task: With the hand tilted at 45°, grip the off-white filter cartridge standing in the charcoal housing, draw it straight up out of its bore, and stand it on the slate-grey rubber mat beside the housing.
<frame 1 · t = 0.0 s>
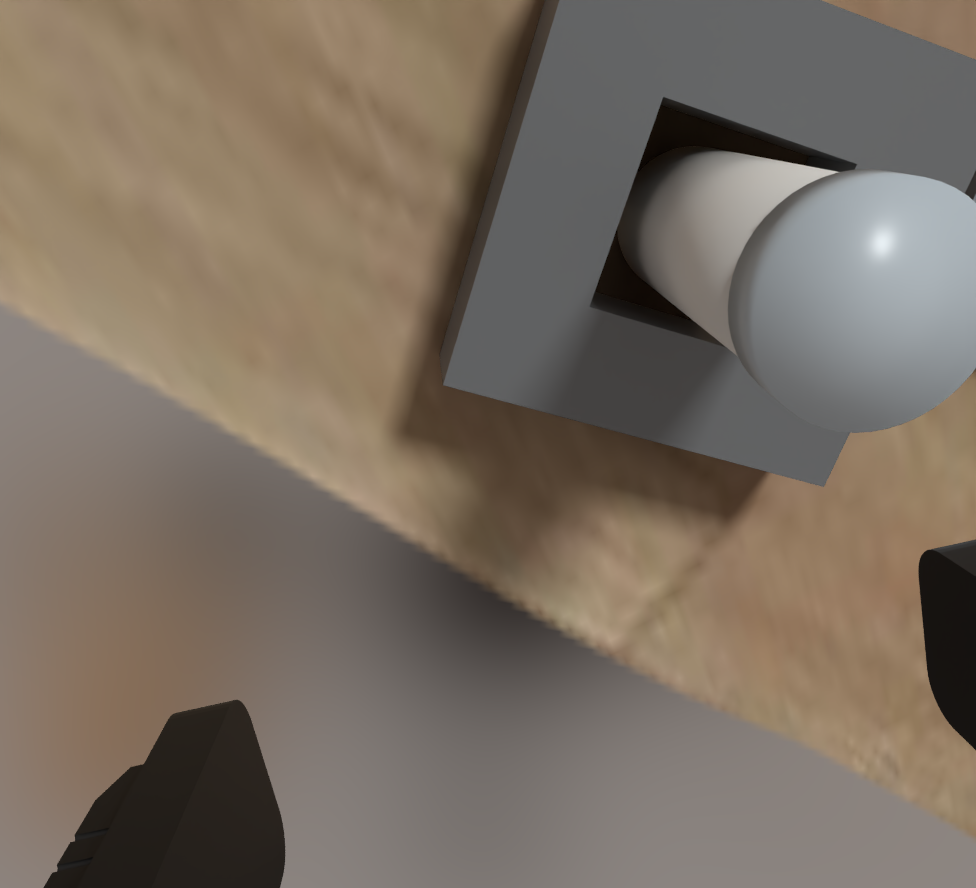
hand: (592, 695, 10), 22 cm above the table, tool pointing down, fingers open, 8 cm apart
cartridge: (759, 254, 24), in the housing
housing: (687, 221, 31), on the table
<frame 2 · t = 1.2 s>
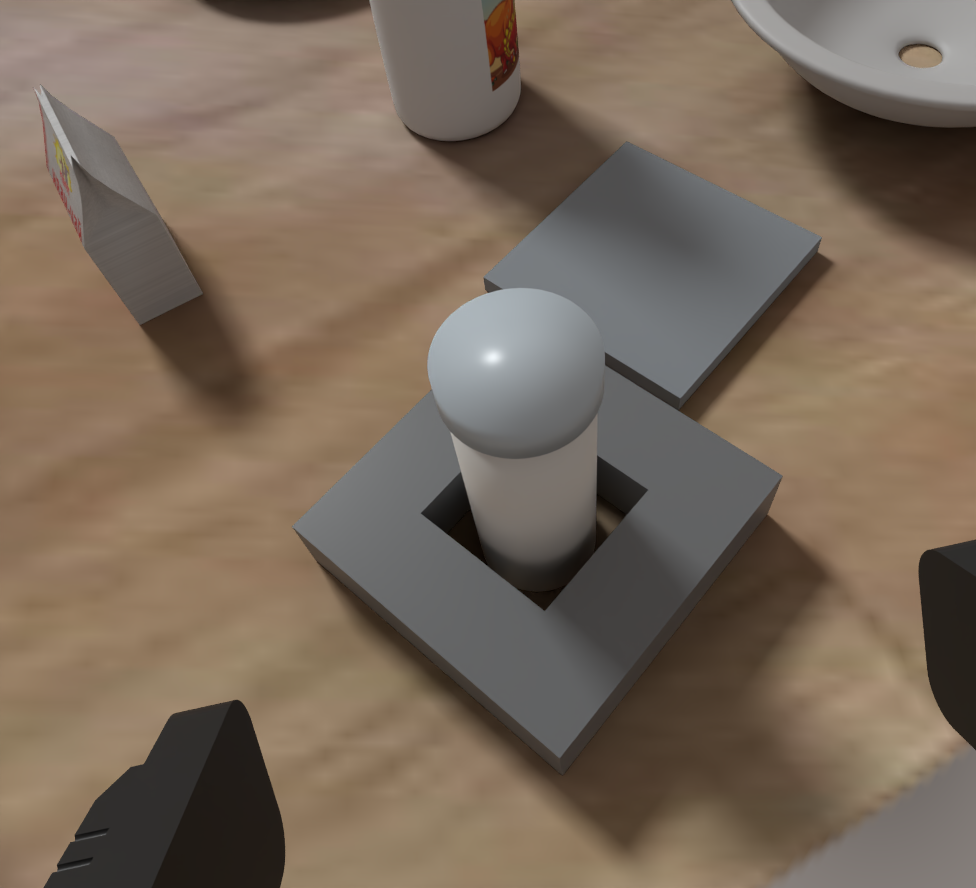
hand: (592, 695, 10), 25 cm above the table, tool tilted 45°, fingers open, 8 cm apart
mat: (649, 270, 45), on the table
milk bottle: (458, 103, 53), on the table
soup bowl: (918, 62, 51), on the table
cartridge: (528, 463, 33), in the housing
white paper packet: (153, 272, 49), on the table
housing: (538, 536, 38), on the table
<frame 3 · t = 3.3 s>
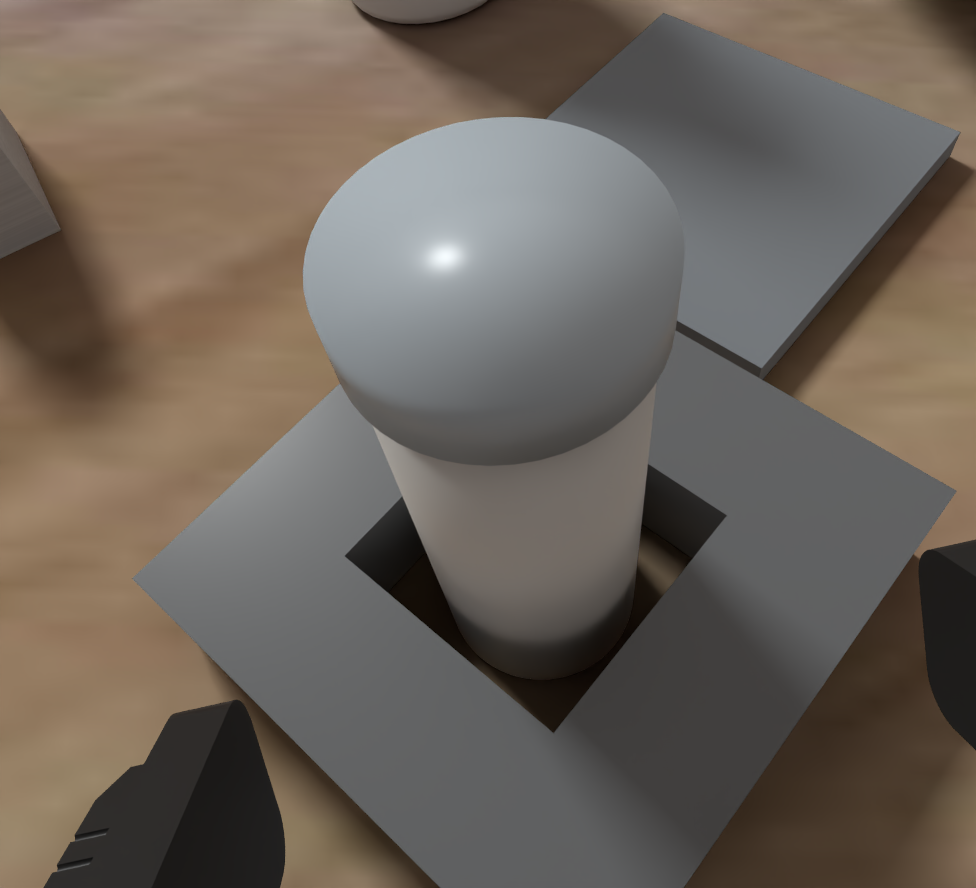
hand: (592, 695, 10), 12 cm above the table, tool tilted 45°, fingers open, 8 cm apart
mat: (702, 187, 31), on the table
cartridge: (523, 472, 18), in the housing
housing: (541, 588, 24), on the table
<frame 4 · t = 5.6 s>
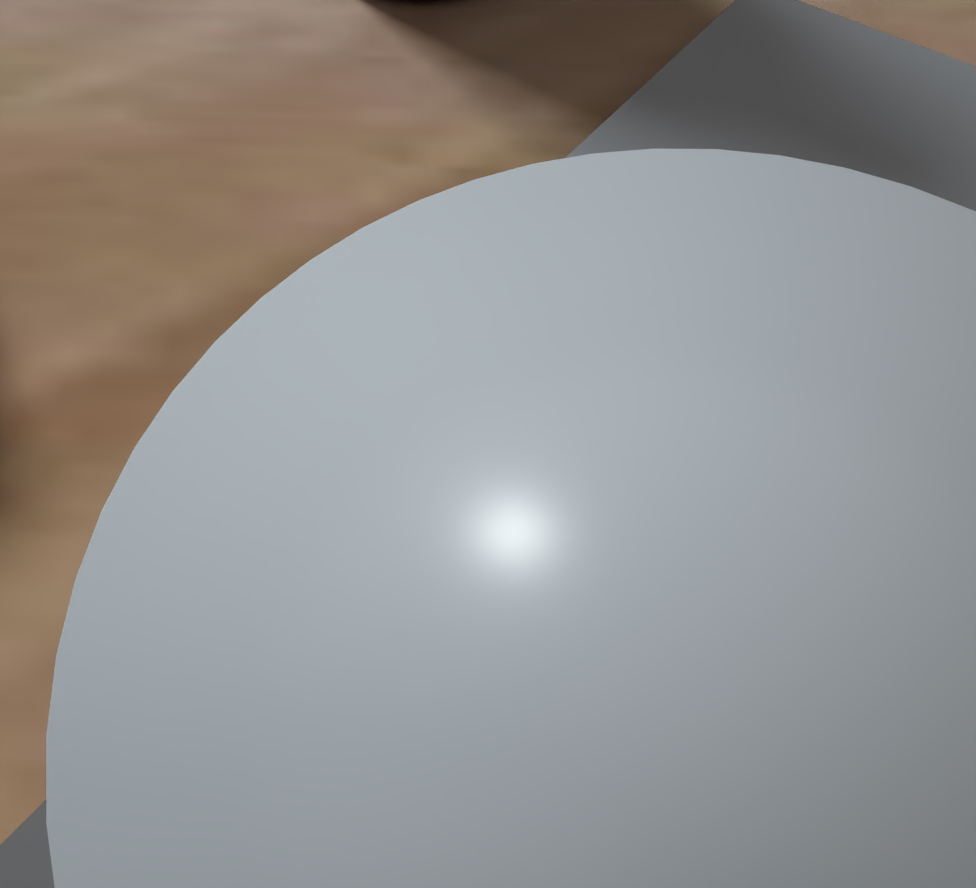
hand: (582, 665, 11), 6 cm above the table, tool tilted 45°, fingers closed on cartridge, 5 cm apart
mat: (820, 222, 22), on the table
cartridge: (624, 814, 10), in the housing, touching gripper
housing: (615, 867, 15), on the table
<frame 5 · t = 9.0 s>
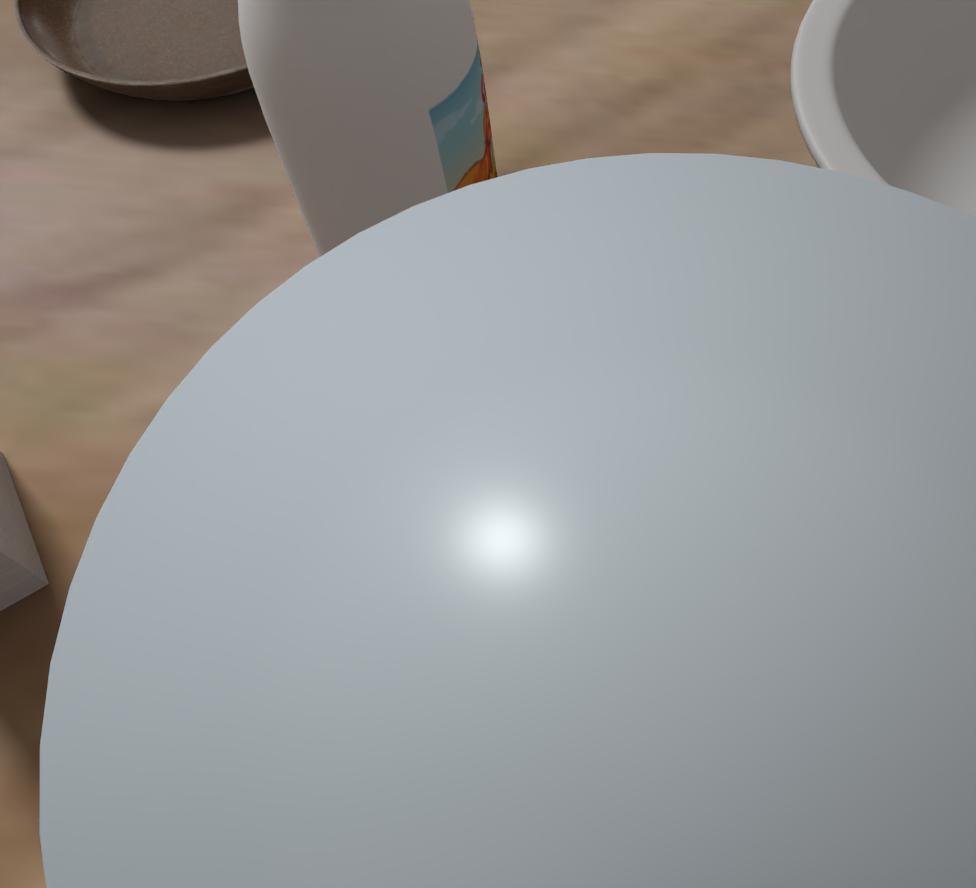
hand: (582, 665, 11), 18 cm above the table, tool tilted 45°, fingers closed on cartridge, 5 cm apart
milk bottle: (421, 273, 39), on the table
cartridge: (624, 817, 10), point 19 cm above the table, touching gripper
plant saucer: (223, 10, 50), on the table
when the fingers open (8 cm above the table, at t = 12.7 s): cartridge stays where it is, resting on mat.
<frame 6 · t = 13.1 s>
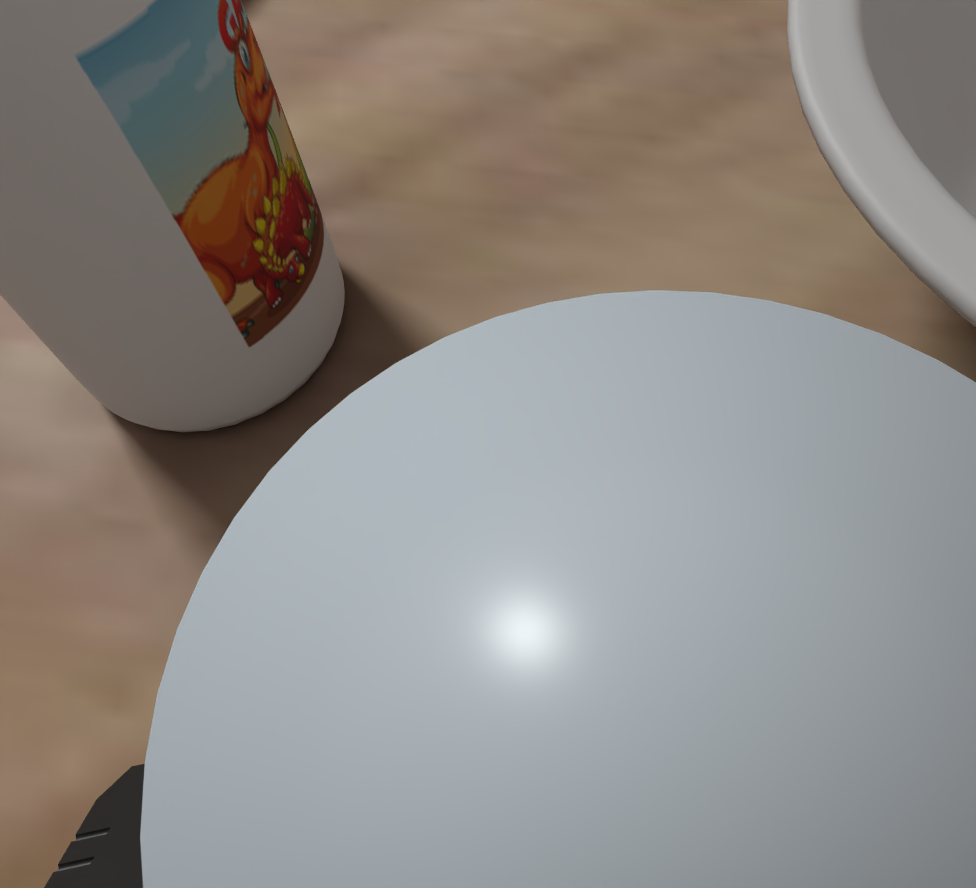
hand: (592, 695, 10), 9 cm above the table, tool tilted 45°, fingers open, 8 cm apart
milk bottle: (220, 329, 25), on the table
cartridge: (624, 844, 10), on the mat, point 8 cm above the table
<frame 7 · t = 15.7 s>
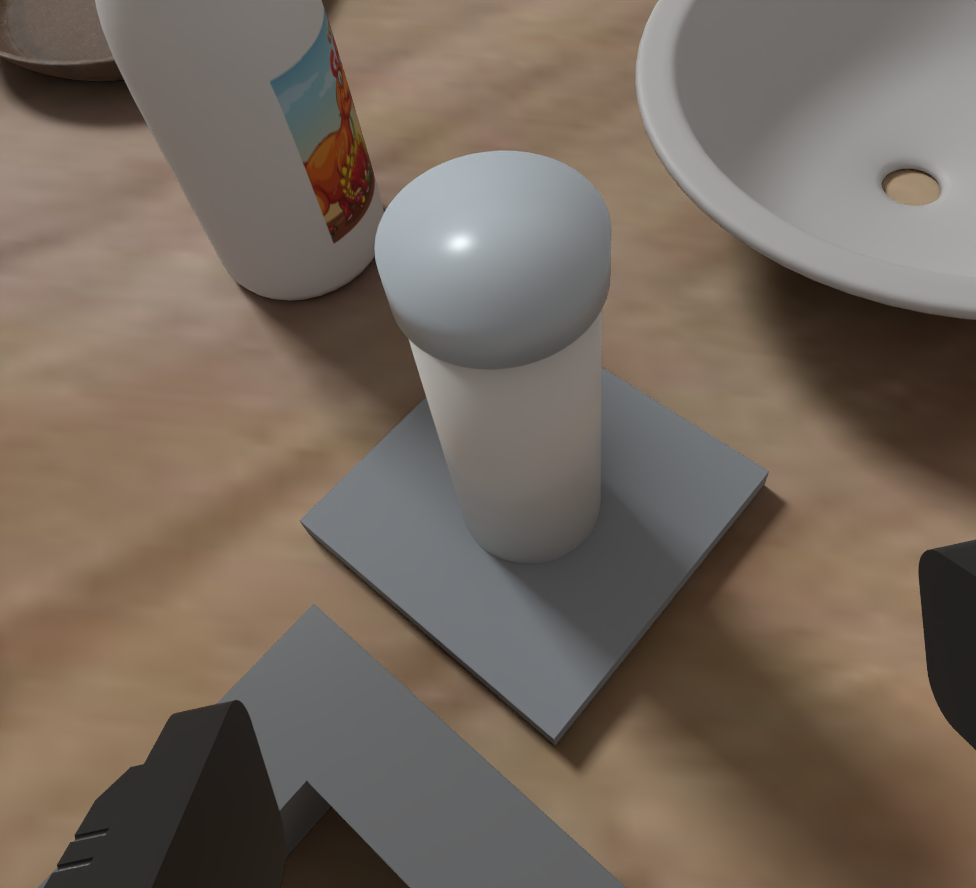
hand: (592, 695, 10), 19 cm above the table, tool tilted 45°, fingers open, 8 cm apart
mat: (532, 508, 32), on the table
milk bottle: (307, 244, 41), on the table
soup bowl: (908, 194, 38), on the table
cartridge: (515, 396, 26), on the mat, point 8 cm above the table
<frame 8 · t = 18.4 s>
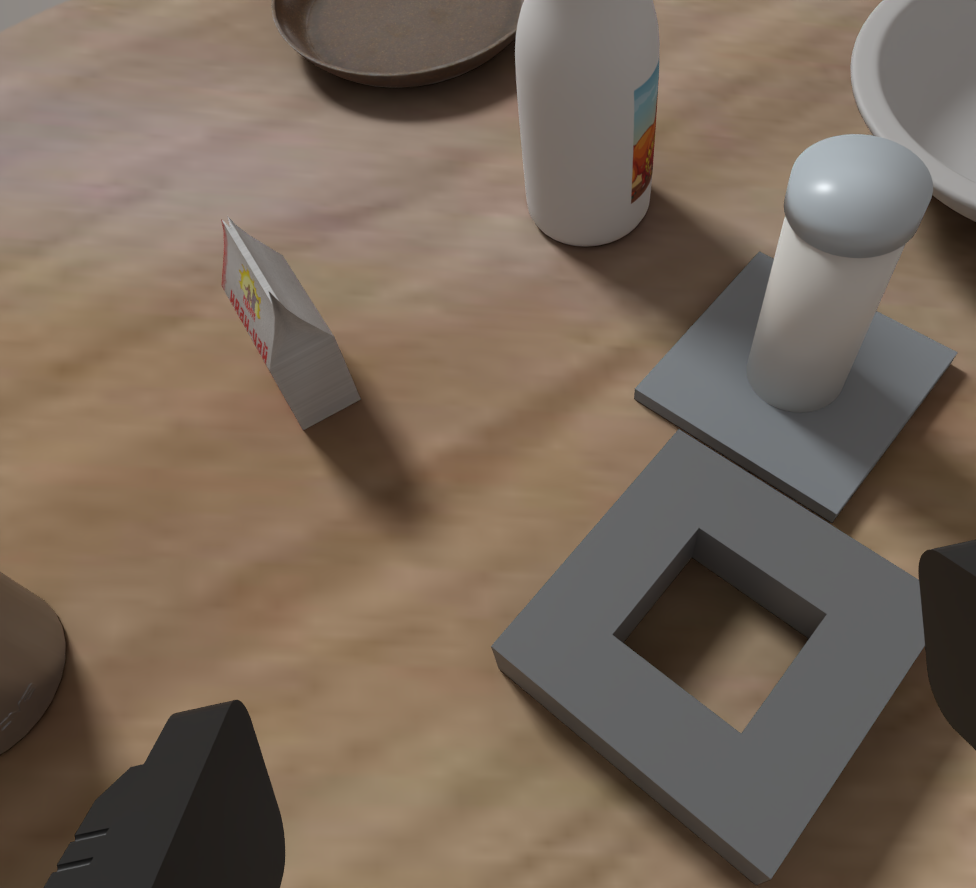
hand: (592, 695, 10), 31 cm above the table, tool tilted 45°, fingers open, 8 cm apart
mat: (790, 381, 48), on the table
milk bottle: (588, 207, 56), on the table
cartridge: (823, 290, 41), on the mat, point 8 cm above the table
plant saucer: (416, 21, 68), on the table
white paper packet: (309, 376, 52), on the table
housing: (709, 648, 41), on the table
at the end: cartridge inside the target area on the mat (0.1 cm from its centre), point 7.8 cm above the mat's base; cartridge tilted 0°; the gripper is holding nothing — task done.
